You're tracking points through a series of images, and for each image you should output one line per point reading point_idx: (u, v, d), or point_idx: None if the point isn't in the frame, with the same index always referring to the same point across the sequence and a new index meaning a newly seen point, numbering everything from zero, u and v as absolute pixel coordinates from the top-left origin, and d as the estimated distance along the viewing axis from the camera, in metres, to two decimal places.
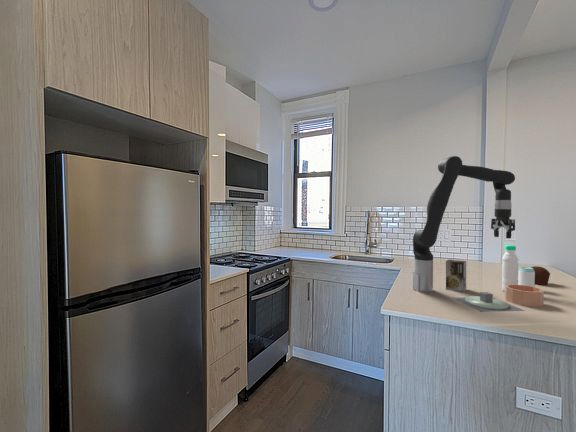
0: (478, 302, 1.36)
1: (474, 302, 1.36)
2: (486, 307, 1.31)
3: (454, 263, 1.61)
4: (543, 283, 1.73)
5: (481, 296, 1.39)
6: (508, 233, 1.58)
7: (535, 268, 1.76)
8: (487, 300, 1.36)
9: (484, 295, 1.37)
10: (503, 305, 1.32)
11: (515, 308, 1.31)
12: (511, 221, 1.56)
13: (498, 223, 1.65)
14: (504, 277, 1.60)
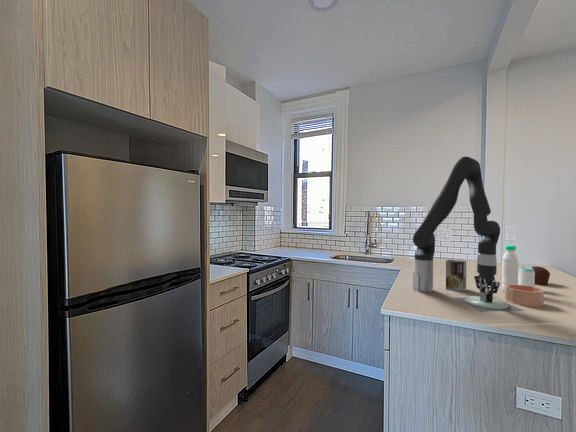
0: (478, 302, 1.36)
1: (474, 302, 1.36)
2: (486, 307, 1.31)
3: (454, 263, 1.61)
4: (543, 283, 1.73)
5: (481, 296, 1.39)
6: (489, 296, 1.35)
7: (535, 268, 1.76)
8: None
9: (484, 295, 1.37)
10: (503, 305, 1.32)
11: (515, 308, 1.31)
12: (495, 285, 1.31)
13: (482, 280, 1.38)
14: (504, 277, 1.60)
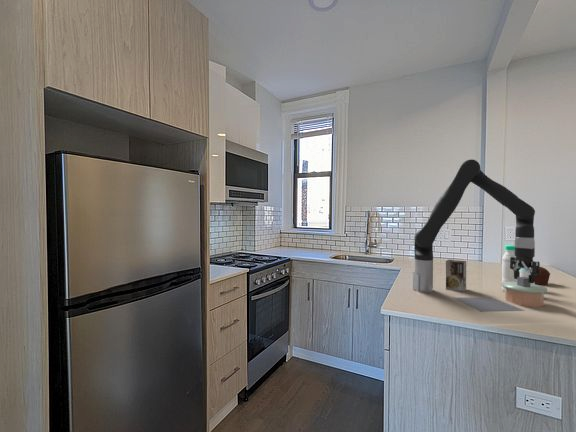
0: (516, 286, 1.39)
1: (512, 286, 1.39)
2: (525, 290, 1.34)
3: (454, 263, 1.61)
4: (543, 283, 1.73)
5: (518, 281, 1.41)
6: (531, 277, 1.36)
7: None
8: (525, 284, 1.39)
9: (522, 279, 1.40)
10: (542, 289, 1.35)
11: (515, 308, 1.31)
12: (535, 264, 1.34)
13: (519, 263, 1.42)
14: (504, 277, 1.60)
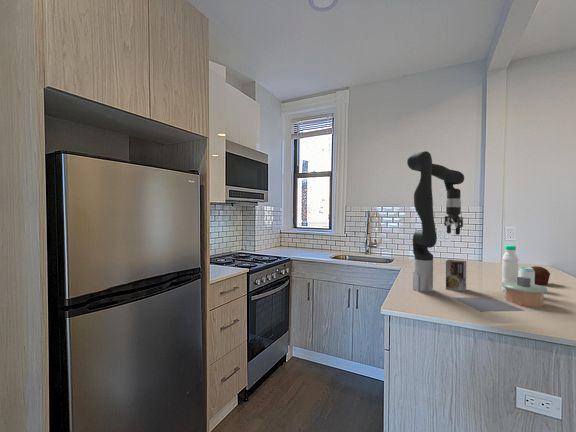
0: (516, 286, 1.39)
1: (512, 286, 1.39)
2: (525, 290, 1.34)
3: (454, 263, 1.61)
4: (543, 283, 1.73)
5: (518, 281, 1.41)
6: (457, 229, 1.70)
7: (535, 268, 1.76)
8: (525, 284, 1.39)
9: (522, 279, 1.40)
10: (542, 289, 1.35)
11: (515, 308, 1.31)
12: (459, 218, 1.68)
13: (449, 220, 1.76)
14: (504, 277, 1.60)
